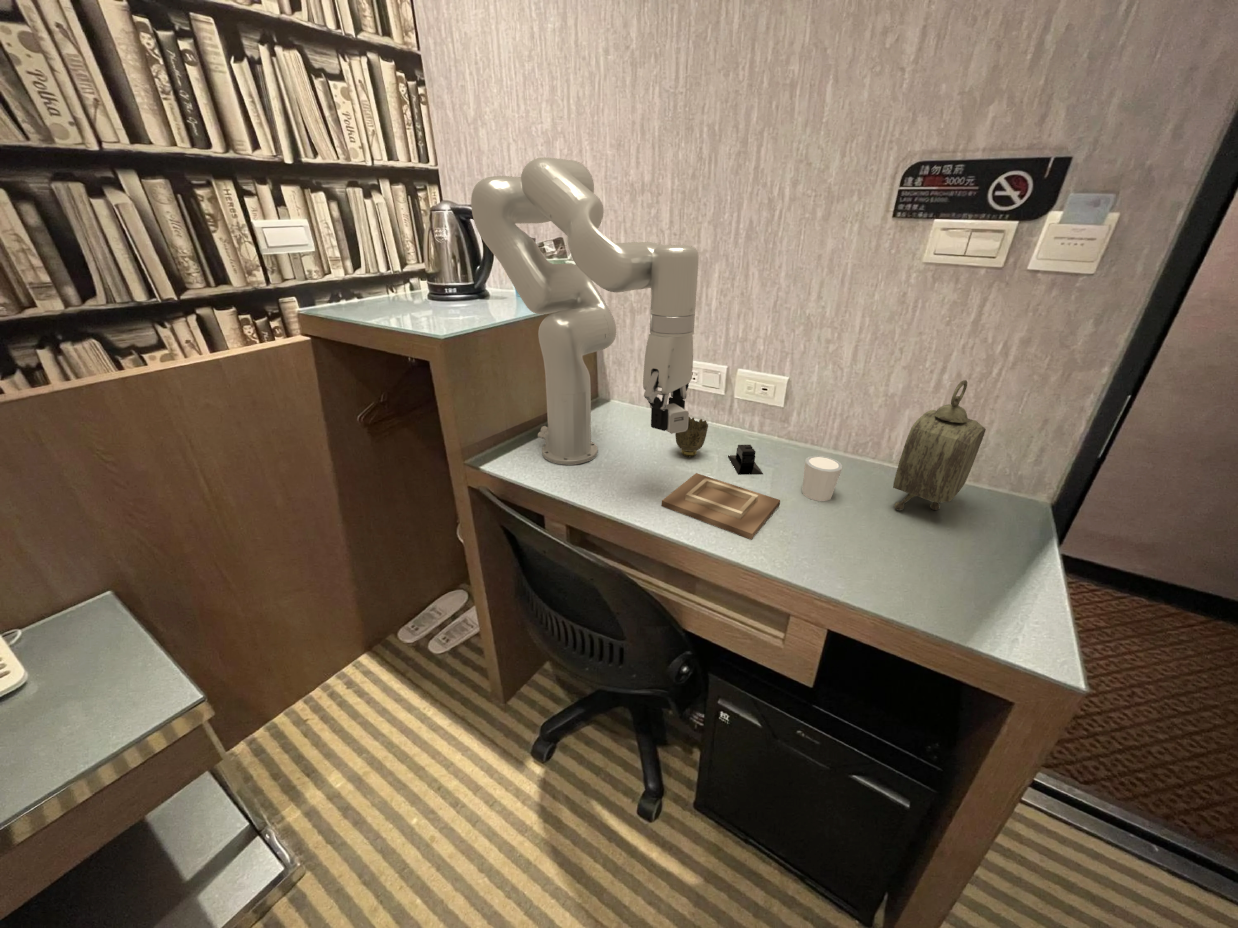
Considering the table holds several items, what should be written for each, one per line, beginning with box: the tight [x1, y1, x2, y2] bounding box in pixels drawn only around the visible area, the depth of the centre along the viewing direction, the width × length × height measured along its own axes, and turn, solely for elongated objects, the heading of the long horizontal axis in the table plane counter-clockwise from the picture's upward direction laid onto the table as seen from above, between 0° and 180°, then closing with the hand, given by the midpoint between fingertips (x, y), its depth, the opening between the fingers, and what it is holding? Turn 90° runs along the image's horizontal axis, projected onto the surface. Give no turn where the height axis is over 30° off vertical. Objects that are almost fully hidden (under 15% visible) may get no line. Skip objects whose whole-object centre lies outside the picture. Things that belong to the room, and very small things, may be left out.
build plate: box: [727, 444, 764, 476], centre depth 112 cm, size 12×7×5 cm, turn 4°
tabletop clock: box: [892, 379, 986, 511], centre depth 93 cm, size 14×9×25 cm, turn 135°
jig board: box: [661, 472, 781, 540], centre depth 96 cm, size 18×14×2 cm
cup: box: [674, 416, 709, 458], centre depth 114 cm, size 8×7×8 cm
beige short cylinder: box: [801, 455, 843, 502], centre depth 100 cm, size 7×7×7 cm
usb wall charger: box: [665, 403, 690, 435], centre depth 94 cm, size 4×7×4 cm, turn 25°
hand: (667, 423), depth 94 cm, fingers closed on usb wall charger, 5 cm apart
